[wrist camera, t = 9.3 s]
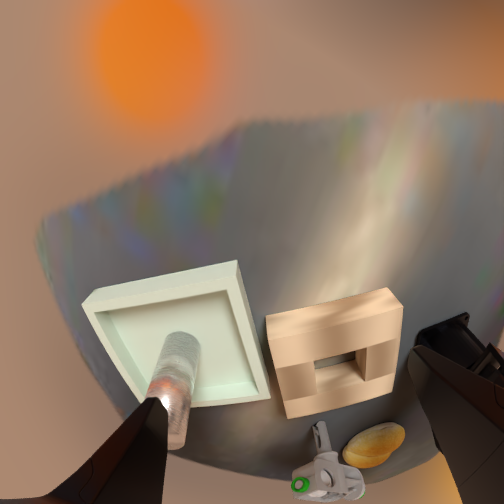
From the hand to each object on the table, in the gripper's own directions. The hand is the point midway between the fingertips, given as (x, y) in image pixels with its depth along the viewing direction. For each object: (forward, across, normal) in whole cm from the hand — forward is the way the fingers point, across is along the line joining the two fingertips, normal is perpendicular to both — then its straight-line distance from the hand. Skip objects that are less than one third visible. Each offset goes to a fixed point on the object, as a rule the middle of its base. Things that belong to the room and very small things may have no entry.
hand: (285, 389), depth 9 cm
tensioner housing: (+12, -4, +10) cm, 16 cm away
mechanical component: (+12, -2, +22) cm, 25 cm away
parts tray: (+12, +8, +6) cm, 16 cm away
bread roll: (+12, -9, +30) cm, 34 cm away
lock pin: (+11, +8, +6) cm, 15 cm away
